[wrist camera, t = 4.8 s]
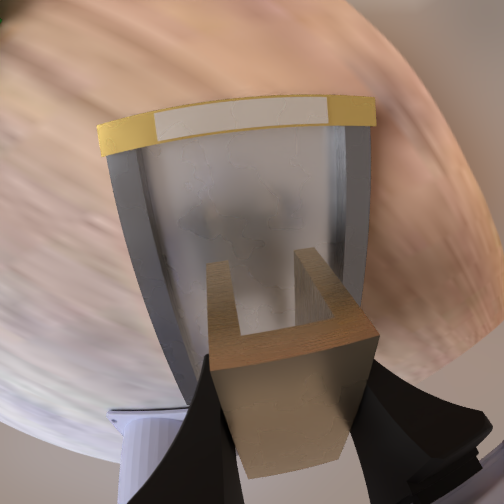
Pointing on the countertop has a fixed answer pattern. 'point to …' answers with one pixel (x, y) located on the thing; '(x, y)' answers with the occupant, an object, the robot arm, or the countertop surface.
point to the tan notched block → (290, 370)
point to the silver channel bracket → (239, 207)
